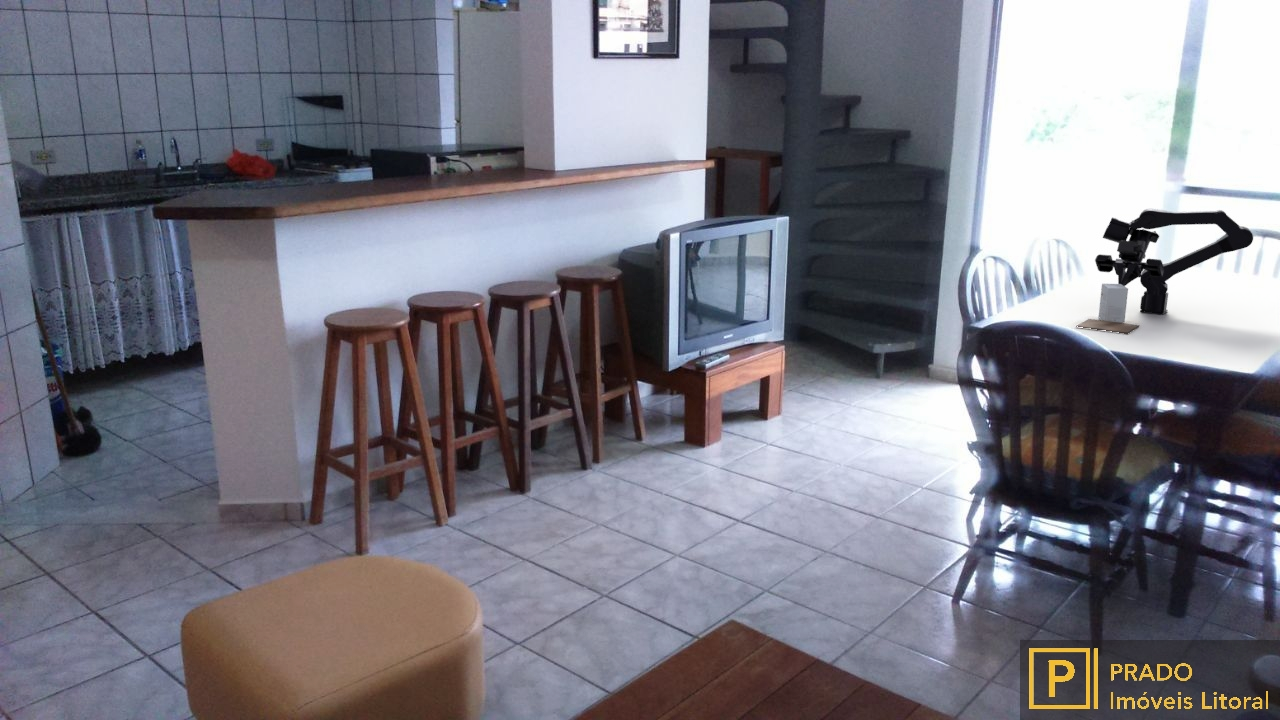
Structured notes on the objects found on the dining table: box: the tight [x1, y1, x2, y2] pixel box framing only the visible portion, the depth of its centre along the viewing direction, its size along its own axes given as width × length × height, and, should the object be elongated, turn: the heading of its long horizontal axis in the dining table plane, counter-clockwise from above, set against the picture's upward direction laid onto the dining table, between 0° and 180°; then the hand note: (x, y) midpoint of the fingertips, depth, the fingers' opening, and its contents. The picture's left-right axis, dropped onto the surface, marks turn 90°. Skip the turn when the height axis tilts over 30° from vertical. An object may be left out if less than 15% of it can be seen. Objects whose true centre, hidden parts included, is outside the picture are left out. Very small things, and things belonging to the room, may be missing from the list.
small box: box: [1098, 283, 1129, 323], centre depth 297 cm, size 8×6×10 cm
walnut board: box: [1075, 318, 1140, 335], centre depth 289 cm, size 14×12×1 cm
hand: (1119, 287), depth 300 cm, fingers closed
